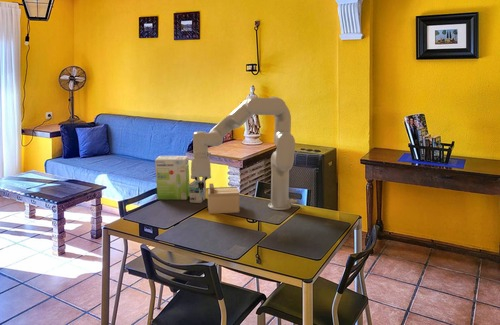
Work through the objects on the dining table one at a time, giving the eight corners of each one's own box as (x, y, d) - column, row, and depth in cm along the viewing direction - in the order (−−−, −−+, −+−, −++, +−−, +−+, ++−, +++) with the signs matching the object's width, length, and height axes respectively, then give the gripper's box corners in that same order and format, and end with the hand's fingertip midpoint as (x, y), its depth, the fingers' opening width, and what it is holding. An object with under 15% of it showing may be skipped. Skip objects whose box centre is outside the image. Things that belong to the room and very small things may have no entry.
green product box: (156, 199, 239) (154, 158, 234) (160, 194, 249) (159, 155, 244) (187, 200, 239) (185, 159, 233) (190, 194, 249) (189, 155, 243)
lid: (236, 189, 228) (236, 182, 227) (238, 194, 218) (238, 187, 217) (208, 190, 225) (207, 183, 224) (208, 195, 216) (208, 188, 215)
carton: (236, 205, 231) (236, 186, 228) (239, 212, 219) (239, 193, 217) (207, 206, 228) (207, 187, 226) (208, 213, 217) (208, 194, 215)
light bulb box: (200, 203, 234) (200, 184, 231) (189, 202, 235) (188, 184, 232) (206, 197, 244) (206, 179, 241) (195, 196, 245) (195, 179, 243)
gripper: (214, 153, 220) (214, 186, 224) (186, 154, 218) (186, 187, 222) (215, 156, 213) (215, 190, 217) (186, 157, 211) (186, 191, 215)
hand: (201, 189), depth 220 cm, fingers closed
